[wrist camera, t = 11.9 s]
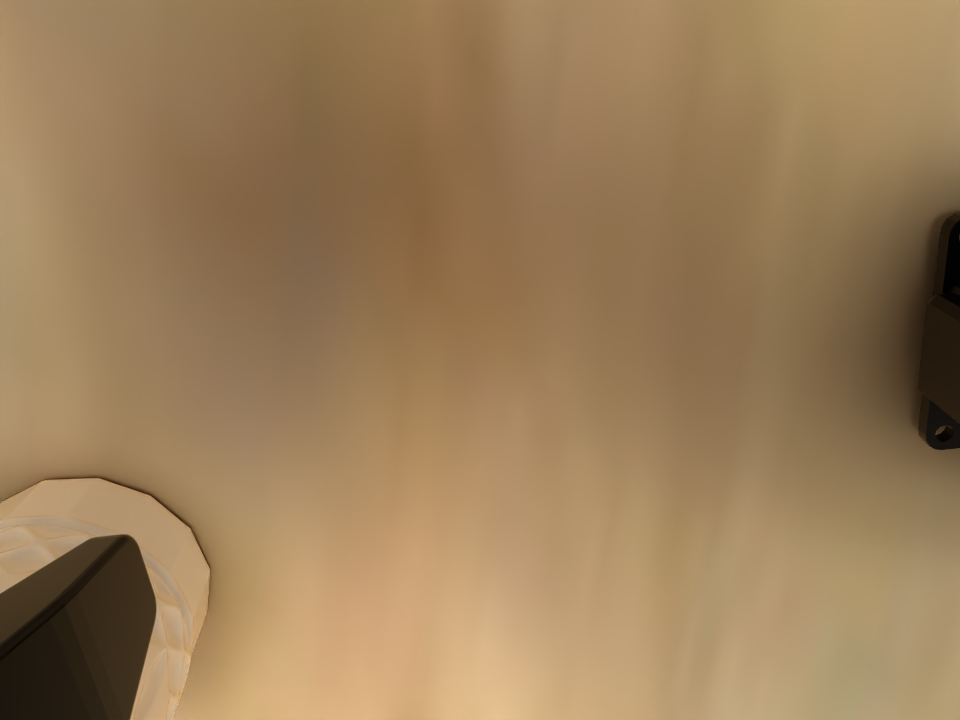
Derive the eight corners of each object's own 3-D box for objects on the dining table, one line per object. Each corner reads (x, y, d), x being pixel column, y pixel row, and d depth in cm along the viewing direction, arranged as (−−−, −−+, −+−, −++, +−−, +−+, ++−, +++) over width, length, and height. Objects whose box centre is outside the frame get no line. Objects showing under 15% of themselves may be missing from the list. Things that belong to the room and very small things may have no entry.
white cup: (31, 405, 22) (-271, 681, 13) (282, 546, 24) (172, 873, 15) (-82, 596, 25) (-405, 944, 15) (154, 711, 27) (-7, 1080, 17)
